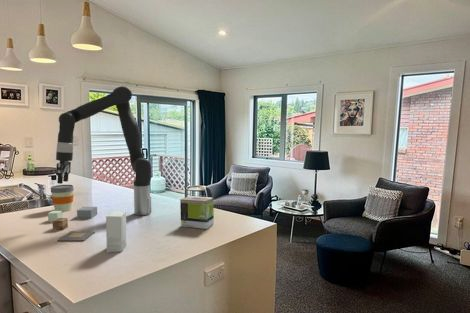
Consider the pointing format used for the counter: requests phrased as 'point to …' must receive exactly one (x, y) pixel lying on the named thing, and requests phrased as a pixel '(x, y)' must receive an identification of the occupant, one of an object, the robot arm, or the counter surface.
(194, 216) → the tea box
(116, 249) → the skincare box
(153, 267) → the counter surface
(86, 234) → the card
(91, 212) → the slate block
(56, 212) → the sage green block
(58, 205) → the reusable coffee cup
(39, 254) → the counter surface
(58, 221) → the walnut block
